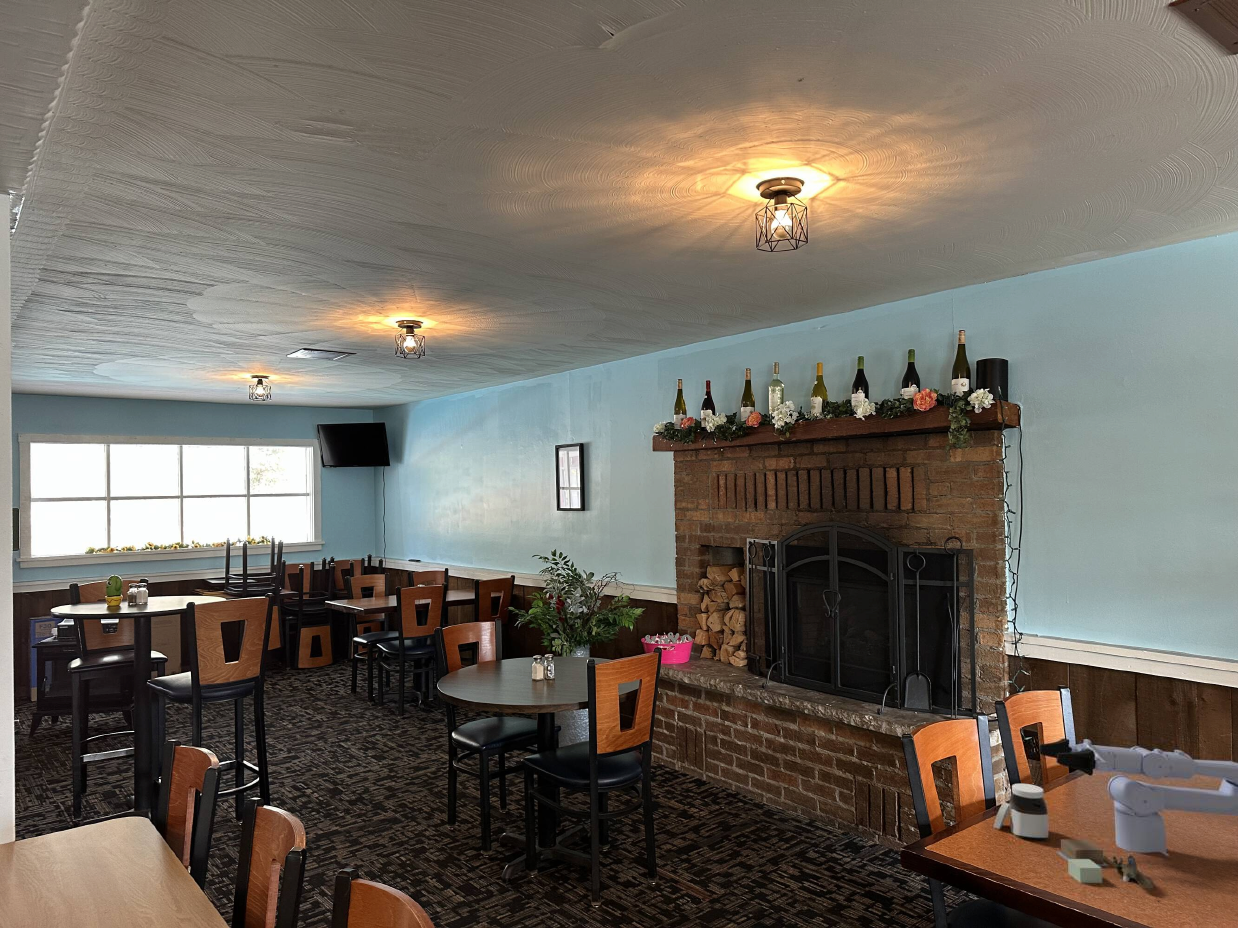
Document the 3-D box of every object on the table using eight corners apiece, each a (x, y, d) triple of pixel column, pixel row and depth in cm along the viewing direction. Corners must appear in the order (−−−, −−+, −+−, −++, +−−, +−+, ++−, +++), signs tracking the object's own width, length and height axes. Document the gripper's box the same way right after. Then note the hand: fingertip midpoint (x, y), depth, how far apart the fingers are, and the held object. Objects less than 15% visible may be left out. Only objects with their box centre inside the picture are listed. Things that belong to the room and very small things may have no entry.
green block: (1089, 878, 175) (1089, 858, 175) (1102, 887, 170) (1101, 867, 170) (1068, 878, 175) (1068, 858, 175) (1080, 887, 170) (1079, 867, 170)
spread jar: (1053, 846, 191) (1051, 795, 192) (1001, 842, 194) (999, 792, 194) (1037, 828, 203) (1036, 780, 204) (988, 824, 205) (987, 777, 206)
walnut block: (1087, 853, 185) (1087, 839, 186) (1103, 863, 179) (1103, 849, 180) (1061, 852, 185) (1060, 839, 186) (1076, 863, 179) (1075, 849, 180)
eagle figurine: (1096, 873, 174) (1130, 883, 166) (1107, 841, 176) (1141, 849, 168) (1126, 892, 174) (1161, 903, 166) (1136, 860, 177) (1171, 869, 168)
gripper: (1089, 733, 198) (1033, 728, 198) (1127, 750, 184) (1066, 744, 184) (1088, 763, 198) (1032, 758, 198) (1125, 782, 183) (1065, 776, 183)
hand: (1048, 753), depth 191 cm, fingers open, 7 cm apart
